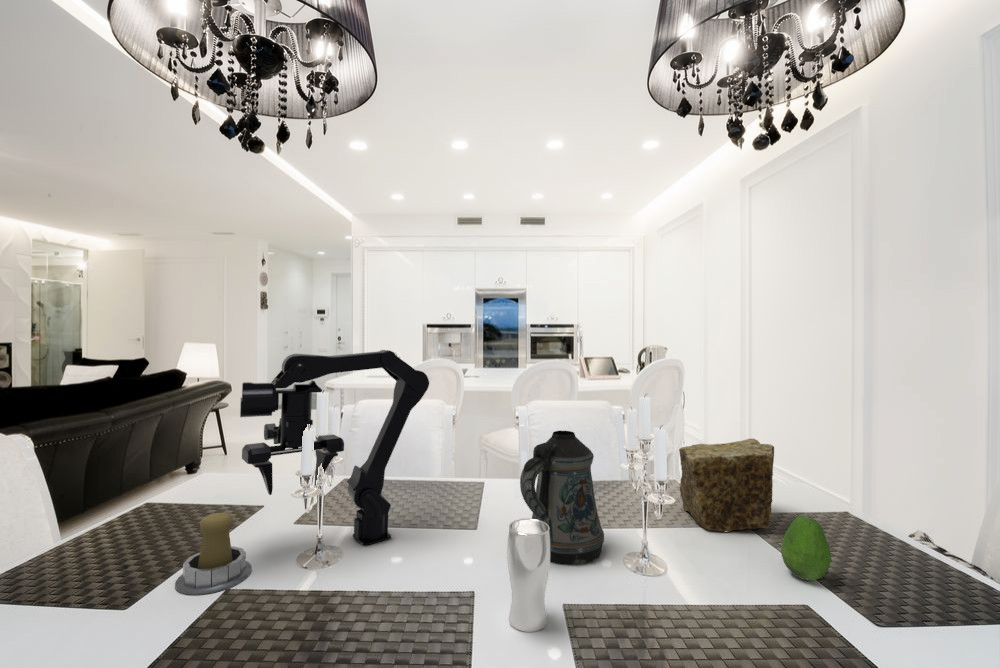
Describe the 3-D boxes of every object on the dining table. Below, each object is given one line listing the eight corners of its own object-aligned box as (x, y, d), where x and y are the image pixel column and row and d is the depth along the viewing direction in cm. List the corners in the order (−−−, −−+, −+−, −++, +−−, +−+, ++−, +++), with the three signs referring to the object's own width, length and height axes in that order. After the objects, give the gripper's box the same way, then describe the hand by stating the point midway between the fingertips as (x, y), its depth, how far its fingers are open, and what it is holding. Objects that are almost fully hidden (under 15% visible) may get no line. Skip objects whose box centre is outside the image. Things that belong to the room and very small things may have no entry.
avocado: (818, 593, 83) (818, 526, 83) (773, 574, 90) (773, 512, 90) (838, 581, 87) (838, 518, 88) (794, 564, 94) (794, 505, 94)
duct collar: (243, 555, 94) (244, 538, 94) (258, 579, 85) (259, 560, 85) (171, 574, 86) (172, 555, 86) (179, 603, 77) (180, 582, 77)
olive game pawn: (188, 584, 82) (190, 522, 82) (205, 567, 88) (206, 509, 88) (225, 582, 83) (227, 520, 83) (239, 565, 89) (240, 508, 89)
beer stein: (611, 540, 104) (612, 429, 104) (590, 580, 86) (592, 446, 86) (541, 526, 111) (543, 422, 111) (509, 561, 93) (511, 437, 93)
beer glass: (504, 608, 77) (505, 518, 77) (545, 607, 77) (546, 517, 78) (508, 635, 70) (510, 535, 70) (553, 633, 70) (555, 535, 71)
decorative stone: (688, 447, 109) (672, 431, 129) (689, 533, 109) (672, 504, 129) (786, 450, 106) (754, 434, 125) (788, 539, 105) (755, 509, 125)
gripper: (327, 406, 108) (325, 473, 107) (236, 412, 95) (234, 488, 95) (346, 412, 99) (344, 485, 99) (249, 420, 87) (247, 503, 87)
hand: (294, 489), depth 95 cm, fingers open, 9 cm apart
